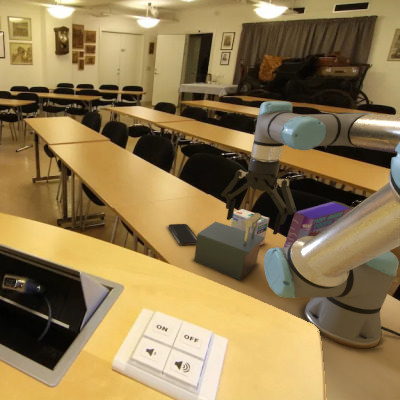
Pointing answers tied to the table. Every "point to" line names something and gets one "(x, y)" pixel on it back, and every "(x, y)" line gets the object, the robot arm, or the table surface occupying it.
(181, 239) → the phone
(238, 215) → the light bulb box
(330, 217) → the cereal box
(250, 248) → the lid
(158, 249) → the table surface
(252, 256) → the dark green box
